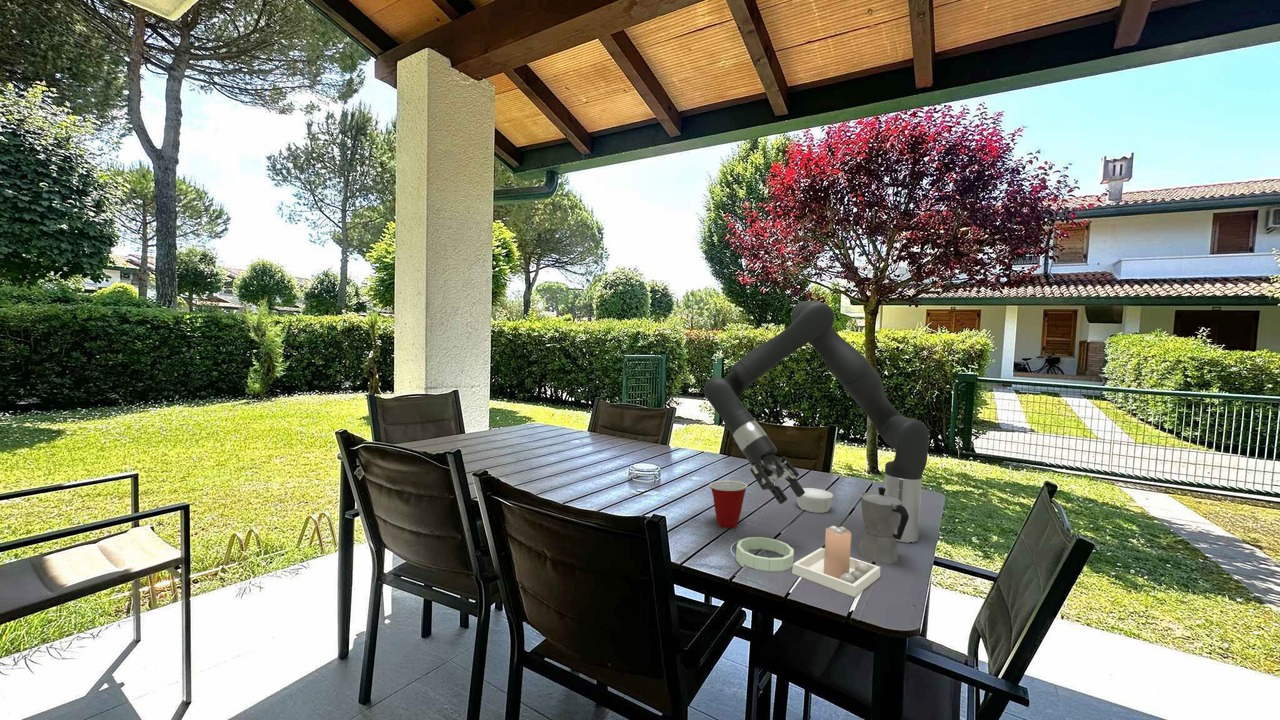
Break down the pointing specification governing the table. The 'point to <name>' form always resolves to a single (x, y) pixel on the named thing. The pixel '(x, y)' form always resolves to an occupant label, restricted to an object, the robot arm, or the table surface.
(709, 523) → the table surface
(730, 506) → the plastic cup
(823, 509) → the ramekin
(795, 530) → the table surface
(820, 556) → the parts tray
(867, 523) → the coffeepot
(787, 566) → the sage bowl
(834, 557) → the pebble pot
